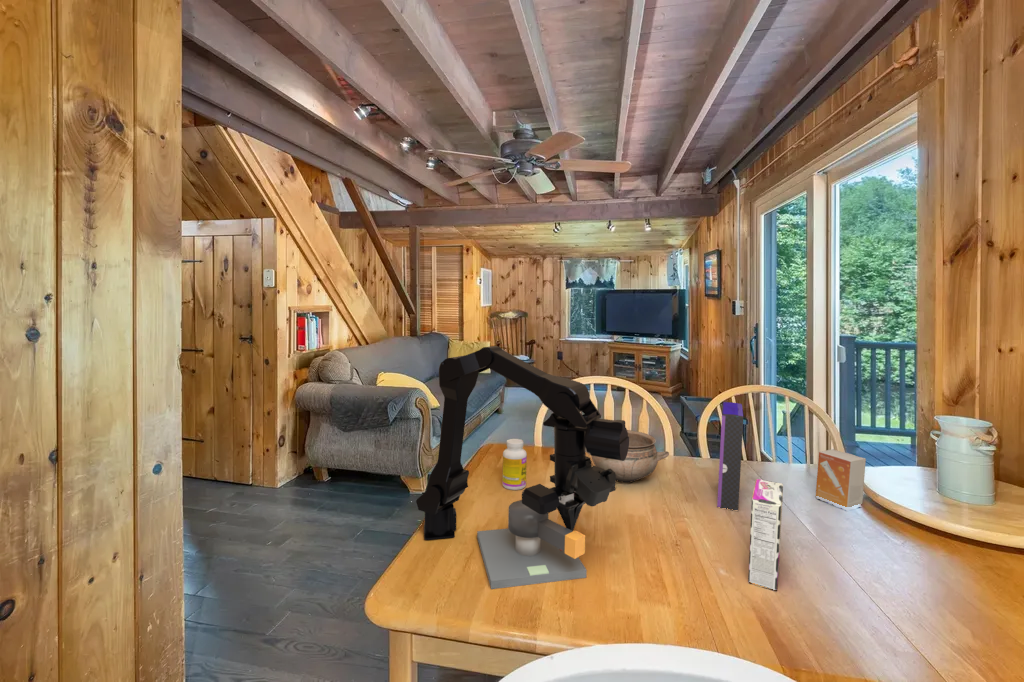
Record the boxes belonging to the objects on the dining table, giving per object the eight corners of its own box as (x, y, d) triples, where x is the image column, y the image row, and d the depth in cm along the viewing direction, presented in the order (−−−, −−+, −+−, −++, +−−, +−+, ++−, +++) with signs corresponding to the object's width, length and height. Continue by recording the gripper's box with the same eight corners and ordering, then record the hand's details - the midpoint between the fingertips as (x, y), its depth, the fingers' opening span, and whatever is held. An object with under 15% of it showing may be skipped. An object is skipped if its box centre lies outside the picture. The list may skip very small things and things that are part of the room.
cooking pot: (663, 470, 140) (665, 431, 139) (672, 495, 121) (674, 451, 120) (582, 463, 145) (583, 426, 144) (578, 486, 126) (579, 443, 125)
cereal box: (718, 483, 130) (723, 401, 128) (737, 486, 128) (741, 403, 126) (717, 507, 114) (722, 414, 113) (738, 511, 112) (743, 416, 110)
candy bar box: (750, 555, 93) (755, 477, 91) (779, 563, 90) (784, 483, 89) (745, 583, 83) (751, 497, 82) (777, 593, 80) (783, 504, 79)
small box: (814, 499, 120) (818, 451, 119) (830, 495, 123) (833, 448, 122) (847, 511, 113) (851, 461, 112) (862, 507, 116) (866, 458, 114)
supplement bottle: (523, 492, 122) (524, 445, 121) (500, 489, 124) (500, 443, 123) (527, 482, 129) (528, 438, 128) (505, 480, 130) (505, 436, 129)
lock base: (491, 589, 80) (491, 558, 80) (477, 537, 98) (477, 512, 97) (586, 577, 84) (587, 548, 84) (556, 530, 102) (557, 505, 101)
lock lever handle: (500, 527, 91) (500, 507, 90) (528, 515, 96) (528, 496, 96) (565, 564, 78) (565, 541, 78) (593, 548, 84) (594, 526, 83)
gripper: (561, 477, 71) (562, 570, 73) (638, 452, 82) (637, 533, 84) (519, 457, 80) (520, 541, 82) (593, 437, 91) (593, 511, 93)
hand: (570, 531), depth 85 cm, fingers closed
